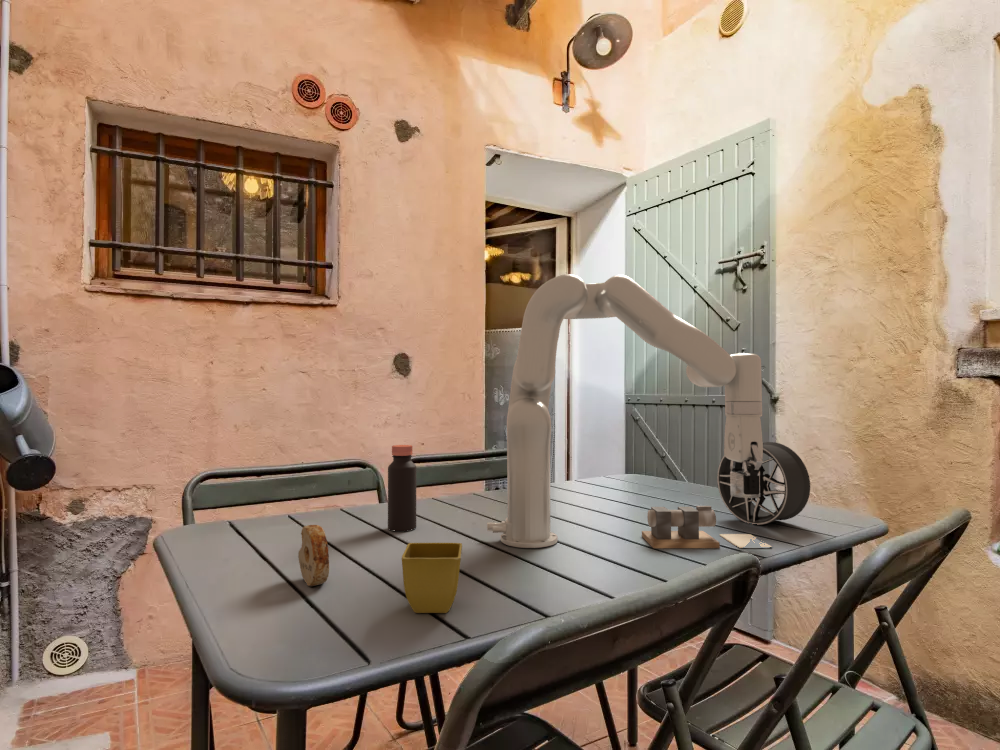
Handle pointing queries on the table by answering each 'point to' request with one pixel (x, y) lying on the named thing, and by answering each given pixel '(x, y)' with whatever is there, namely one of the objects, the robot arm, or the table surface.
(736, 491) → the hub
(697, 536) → the shaft stand
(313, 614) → the table surface
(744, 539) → the mat
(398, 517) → the bottle
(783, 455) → the wheel rim
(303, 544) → the stone disc
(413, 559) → the flower pot
